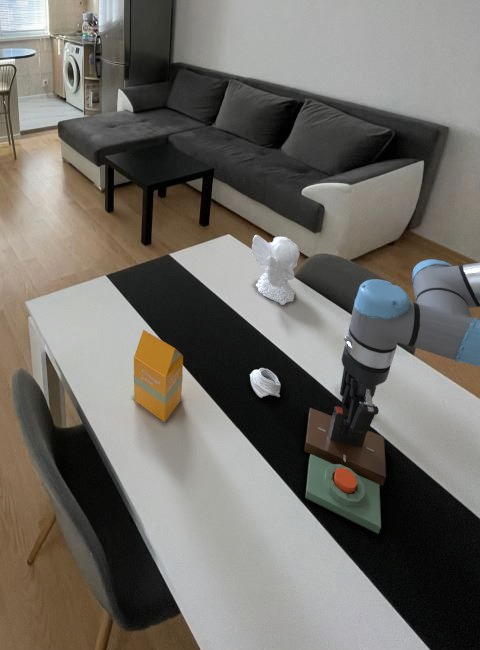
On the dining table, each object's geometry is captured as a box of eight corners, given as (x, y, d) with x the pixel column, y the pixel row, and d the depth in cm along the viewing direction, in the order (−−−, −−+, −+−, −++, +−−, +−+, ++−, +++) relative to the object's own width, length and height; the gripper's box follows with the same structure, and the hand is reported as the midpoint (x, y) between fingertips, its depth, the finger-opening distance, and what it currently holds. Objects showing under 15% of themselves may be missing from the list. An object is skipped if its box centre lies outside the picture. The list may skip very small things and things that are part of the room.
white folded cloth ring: (244, 378, 110) (243, 363, 108) (268, 371, 110) (268, 356, 109) (261, 404, 102) (261, 389, 101) (287, 397, 103) (287, 382, 101)
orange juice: (164, 422, 99) (166, 359, 92) (133, 400, 105) (132, 339, 97) (181, 399, 104) (184, 337, 97) (151, 378, 110) (151, 319, 103)
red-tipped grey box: (360, 439, 90) (367, 412, 87) (362, 447, 89) (370, 420, 86) (328, 431, 92) (334, 405, 89) (330, 439, 91) (336, 413, 87)
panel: (380, 443, 92) (384, 433, 91) (383, 489, 84) (386, 479, 83) (308, 414, 99) (310, 404, 98) (304, 454, 91) (306, 444, 90)
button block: (377, 491, 84) (381, 478, 82) (378, 534, 78) (383, 521, 76) (308, 460, 90) (311, 448, 88) (305, 498, 84) (308, 485, 82)
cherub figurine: (303, 307, 130) (313, 253, 122) (262, 309, 130) (269, 255, 123) (284, 279, 142) (292, 228, 134) (247, 280, 142) (252, 230, 135)
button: (355, 479, 83) (357, 473, 82) (355, 497, 80) (357, 491, 79) (334, 469, 85) (335, 463, 84) (333, 487, 82) (334, 481, 81)
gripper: (335, 322, 89) (318, 401, 98) (356, 383, 76) (334, 468, 85) (377, 328, 87) (356, 408, 96) (405, 392, 74) (378, 478, 83)
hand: (345, 436), depth 90 cm, fingers closed on red-tipped grey box, 2 cm apart
